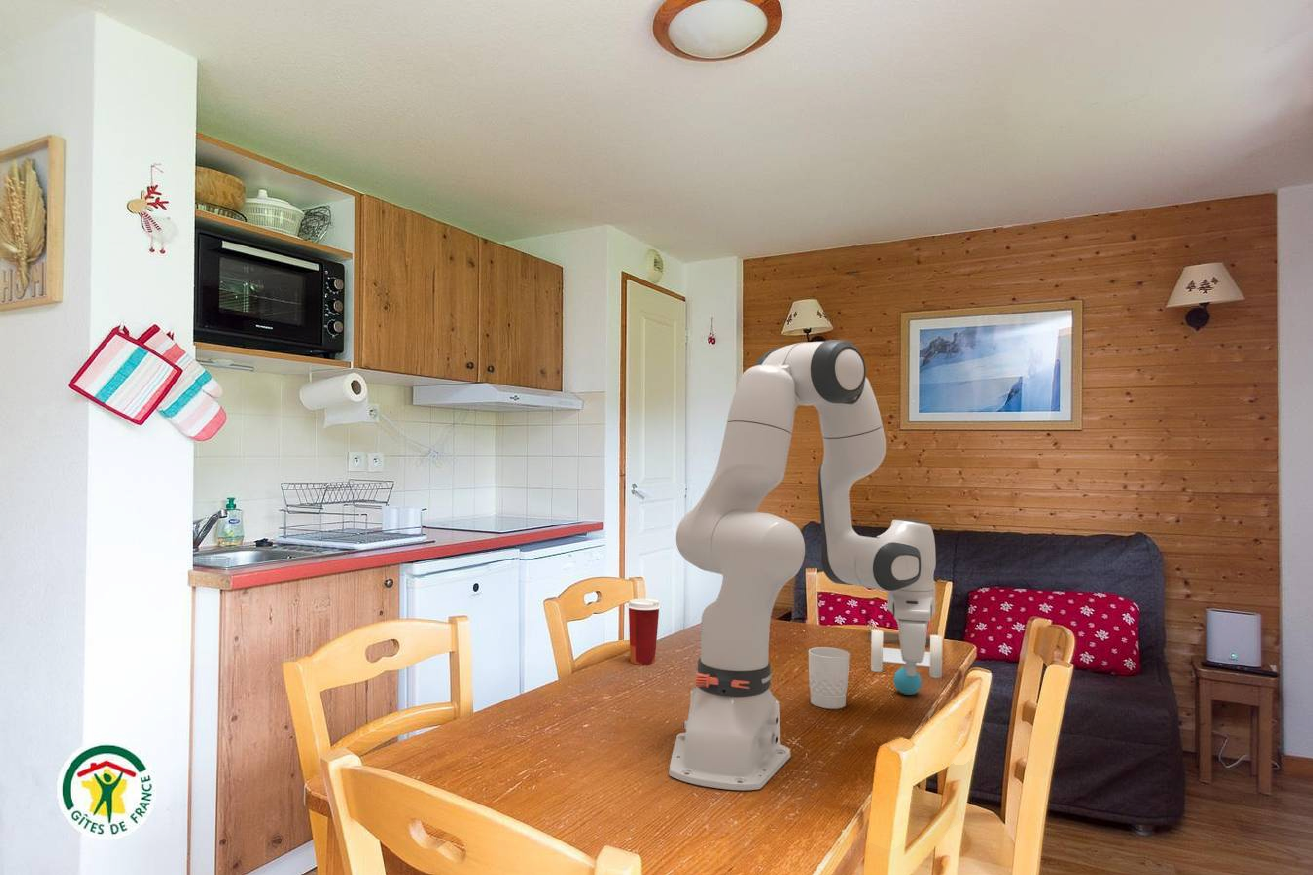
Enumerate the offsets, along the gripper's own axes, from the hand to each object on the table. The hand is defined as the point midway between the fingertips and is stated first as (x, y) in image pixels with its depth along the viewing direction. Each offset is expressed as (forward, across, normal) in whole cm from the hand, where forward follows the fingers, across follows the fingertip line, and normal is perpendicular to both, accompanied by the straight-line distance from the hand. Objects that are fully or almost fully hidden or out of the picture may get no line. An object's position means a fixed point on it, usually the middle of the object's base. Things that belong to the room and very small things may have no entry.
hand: (910, 673), depth 146 cm
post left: (+7, -25, -7) cm, 27 cm away
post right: (+7, -25, +6) cm, 27 cm away
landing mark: (+7, -40, 0) cm, 41 cm away
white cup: (+7, +3, -15) cm, 17 cm away
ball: (+4, -9, 0) cm, 10 cm away
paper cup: (+6, -11, -58) cm, 60 cm away
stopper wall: (+8, -54, 0) cm, 54 cm away
